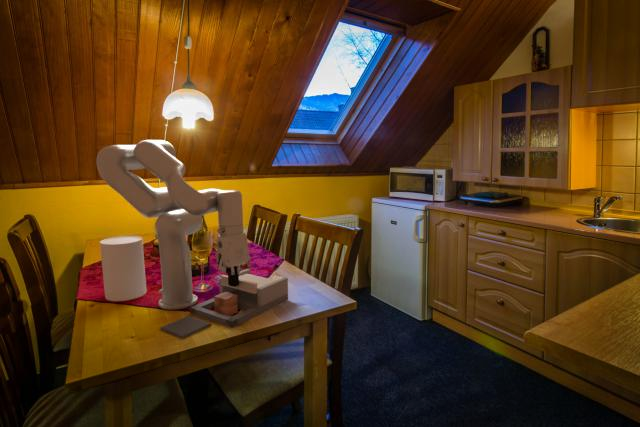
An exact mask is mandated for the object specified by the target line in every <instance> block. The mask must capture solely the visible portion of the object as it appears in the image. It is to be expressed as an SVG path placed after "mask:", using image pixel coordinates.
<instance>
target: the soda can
mask: <svg viewBox="0 0 640 427" xmlns="http://www.w3.org/2000/svg"><path fill="white" fill-rule="evenodd" d="M251 267H252V266H251V255H250V254H249V260H248V261H247V262H246V264H245V265H243V266H242V267H241V269H240V271H242V270H245V269H250V274H251V275H252V272H251V271H252V270H251V269H252V268H251Z"/></svg>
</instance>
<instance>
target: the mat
mask: <svg viewBox="0 0 640 427" xmlns="http://www.w3.org/2000/svg"><path fill="white" fill-rule="evenodd" d="M211 326H212V324H211V322H209V321H206V320H204V319H200V318H197V317H194V316H191V315H187V316H185V317H182V318H180V319H177V320H174V321H172V322H169V323H168V324H165V325H162V326H160V330H161V331H163V332H165V333H168V334H169V335H173V336H175V337H177V338H180V339H185V338H187V337H189V336H192V335H193V334H196V333H198V332H200V331H203V330H205V329H206V328H209V327H211Z"/></svg>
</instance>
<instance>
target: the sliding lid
mask: <svg viewBox="0 0 640 427" xmlns="http://www.w3.org/2000/svg"><path fill="white" fill-rule="evenodd" d="M220 278H221V285H223V286H227V287H231V288H235V289H238V290H242V291H246V292H250V293H253V294H256V293H257V288H260V287H262V286H264V285H267V284H269V283H272V282H274V281H276V280H277V279H272V278H268V277H264V276H259V275H256V274H252V273H251V274H247V273H246V274H243V275H240V276H239V286H236V287H233V286H229V285H228V275H227V274H222V275H220Z"/></svg>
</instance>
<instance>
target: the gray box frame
mask: <svg viewBox="0 0 640 427" xmlns="http://www.w3.org/2000/svg"><path fill="white" fill-rule="evenodd" d="M246 273H247V274H250V269H245V270H242V271H240V273H238V275H239V276H240V275H243V274H246ZM275 280H276V281H274V282H272V283H269V284H267V285H264V286H262V287H260V288H257V293H256V294H253V293H250V292H246V291H242V290H238V289H235V288H231V287H227V286H223V285H221V277H220V278H218V285H219V294H221V293H224V292H229V293H233V294H236V295H237V306H238V310H240V311H241V312H239V313H236V314H234V315H232V316H226V315H223V314H220V313H217V312H215V310H214V311H213V310H211V309H214V308H215V304H214V297H213V298H210V299H208V300H205V301H203V302H200V303H196V304H194V305H192V306H190V307H189V313H190V314H191V315H194V316H197V317H199V318H203V319H206V320H208V321H211V322H214V323H217V324H220V325H223V326H226V327H229V328H231V329H233V328H235V327H237V326H239V325H241V324H244V323H245V322H248V321H249V320H252V319H254V318H256V317H257V316H261V314H264V313H265V312H267V311H269V310H271V309H273V308H276V307H277V306H279V305H281V304H283V303H286V302H288V301H289V282H288V281H289V279H288V277H286V276H285V277H281V278H279V279H275ZM213 307H214V308H213ZM208 309H209V310H208Z"/></svg>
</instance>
